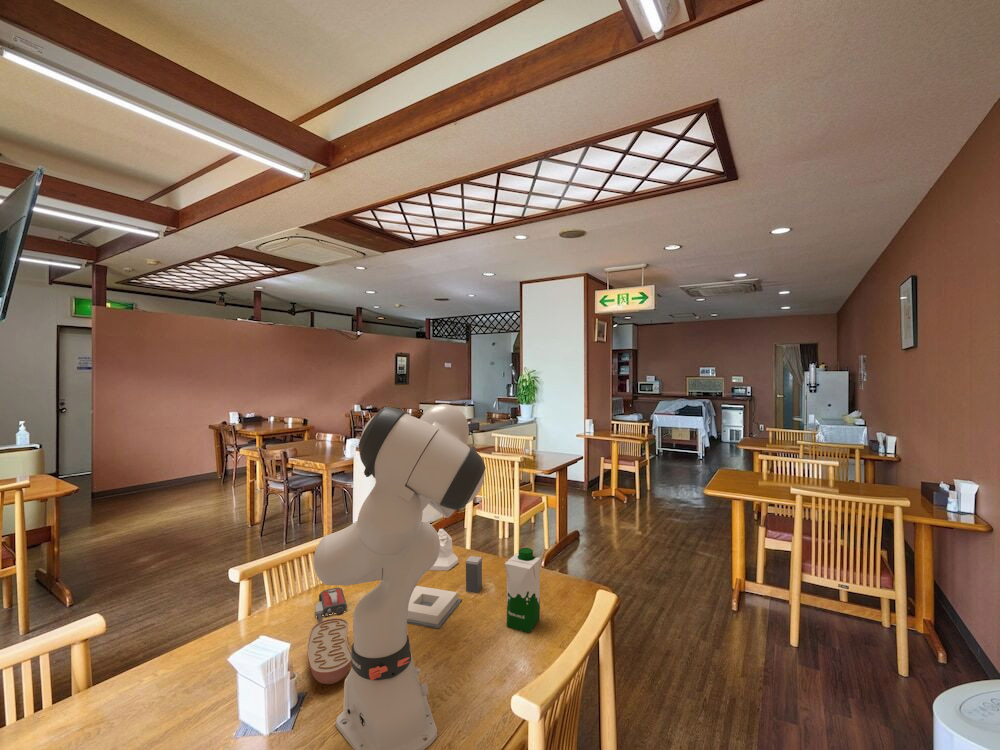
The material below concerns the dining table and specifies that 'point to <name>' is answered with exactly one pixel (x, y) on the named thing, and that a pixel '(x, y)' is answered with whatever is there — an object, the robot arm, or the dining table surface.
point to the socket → (431, 606)
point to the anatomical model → (329, 650)
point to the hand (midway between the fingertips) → (436, 506)
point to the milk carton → (523, 590)
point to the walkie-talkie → (330, 603)
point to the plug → (473, 574)
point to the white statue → (445, 553)
